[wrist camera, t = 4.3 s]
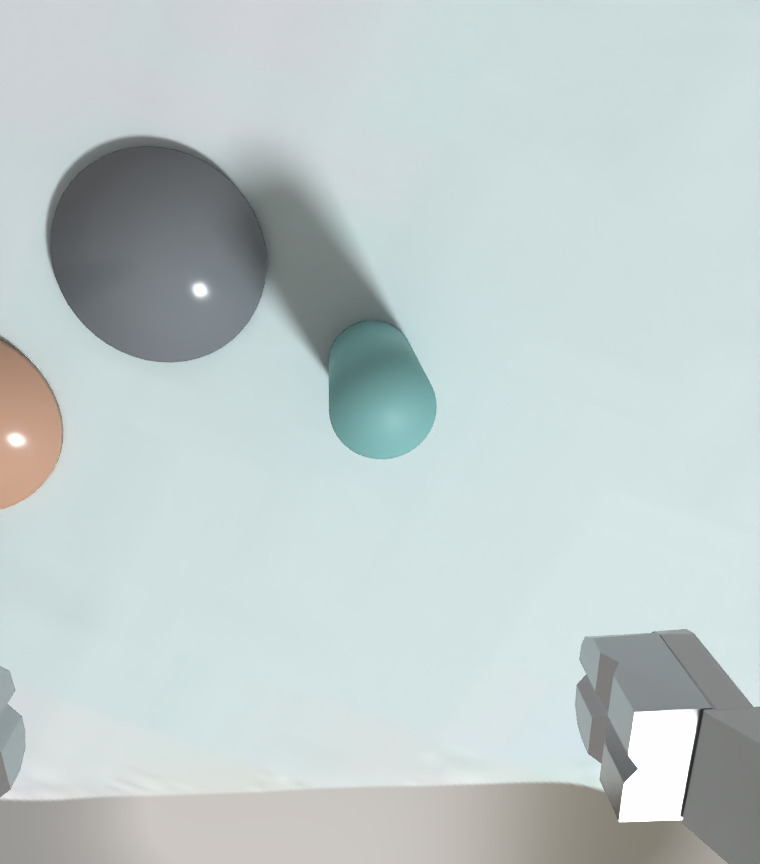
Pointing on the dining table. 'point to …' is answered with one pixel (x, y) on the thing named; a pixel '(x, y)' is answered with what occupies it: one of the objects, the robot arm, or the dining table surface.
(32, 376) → the tan round disc
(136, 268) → the grey flat disc
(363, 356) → the marker peg
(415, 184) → the dining table surface
